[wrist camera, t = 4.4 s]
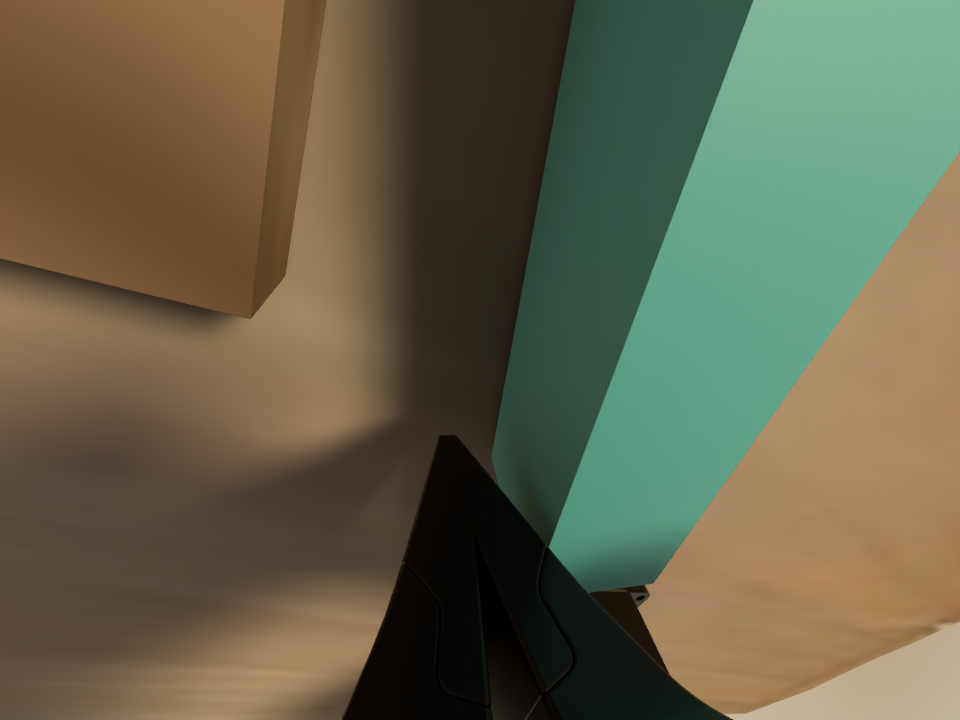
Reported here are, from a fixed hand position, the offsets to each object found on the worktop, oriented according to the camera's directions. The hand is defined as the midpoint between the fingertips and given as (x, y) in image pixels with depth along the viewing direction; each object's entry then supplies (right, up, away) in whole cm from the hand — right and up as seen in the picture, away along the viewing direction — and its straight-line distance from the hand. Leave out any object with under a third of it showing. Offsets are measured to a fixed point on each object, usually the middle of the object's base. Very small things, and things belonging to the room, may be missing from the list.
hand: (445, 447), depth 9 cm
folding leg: (+4, +7, -2) cm, 8 cm away
